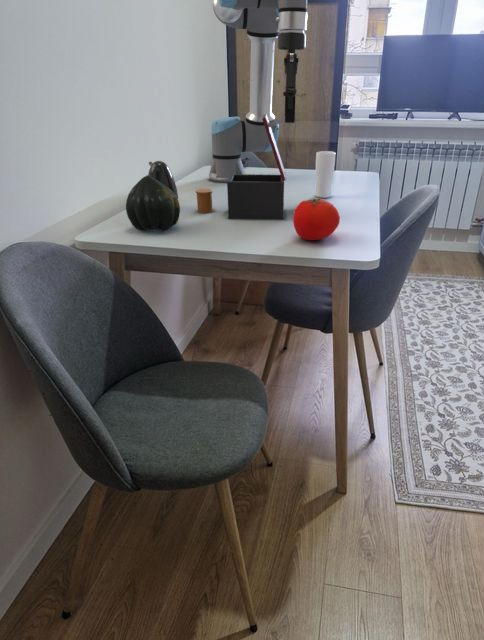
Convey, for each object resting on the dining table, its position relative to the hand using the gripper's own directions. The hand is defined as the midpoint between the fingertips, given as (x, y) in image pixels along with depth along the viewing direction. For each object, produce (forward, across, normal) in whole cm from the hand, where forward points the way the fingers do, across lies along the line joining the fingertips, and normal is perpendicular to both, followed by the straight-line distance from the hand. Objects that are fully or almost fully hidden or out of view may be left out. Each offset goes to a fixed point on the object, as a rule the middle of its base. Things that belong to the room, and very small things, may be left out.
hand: (289, 120), depth 138 cm
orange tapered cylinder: (+27, -3, -27) cm, 38 cm away
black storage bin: (+27, 0, -10) cm, 29 cm away
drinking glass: (+28, -25, +13) cm, 39 cm away
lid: (+8, 0, -5) cm, 9 cm away
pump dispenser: (+27, -4, -41) cm, 49 cm away
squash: (+27, +17, -39) cm, 50 cm away
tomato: (+27, +25, +7) cm, 38 cm away
